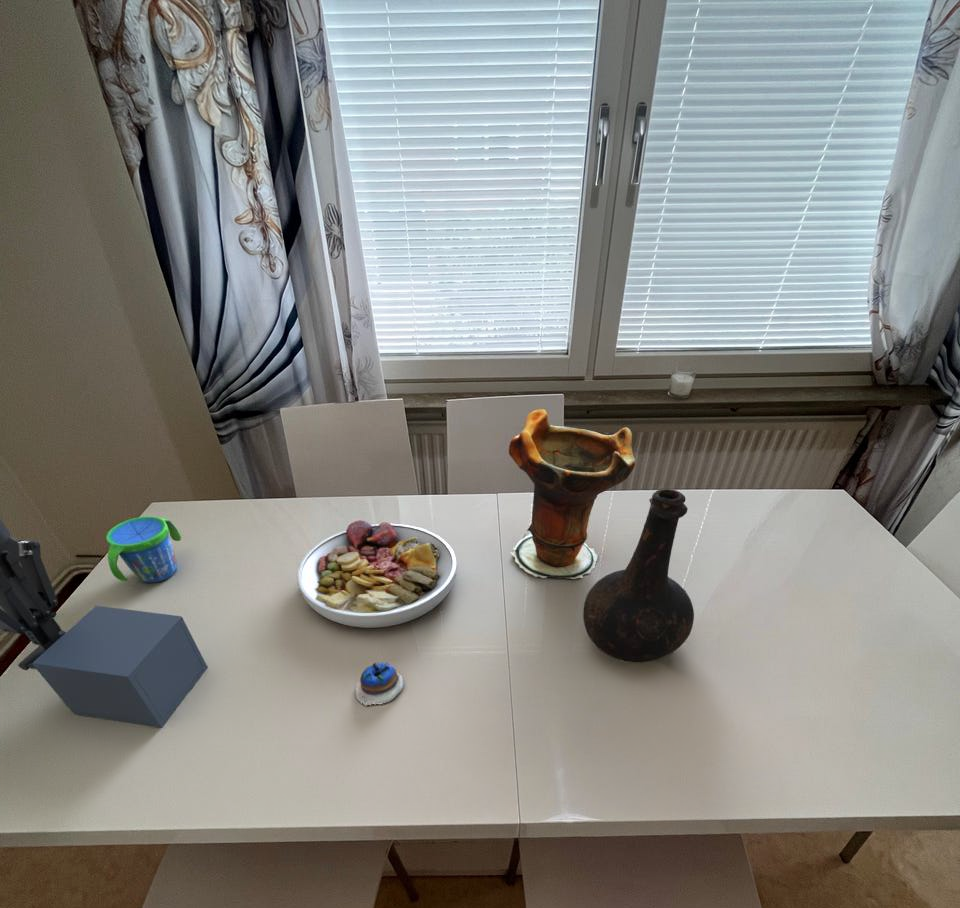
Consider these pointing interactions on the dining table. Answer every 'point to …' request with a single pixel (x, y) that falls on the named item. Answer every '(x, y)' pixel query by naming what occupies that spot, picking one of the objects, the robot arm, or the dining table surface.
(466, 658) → the dining table surface
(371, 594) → the bowl
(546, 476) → the decorative vase
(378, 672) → the dessert
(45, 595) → the robot arm
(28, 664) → the drawer
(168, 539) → the snack cup
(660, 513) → the glass bottle
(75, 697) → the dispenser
